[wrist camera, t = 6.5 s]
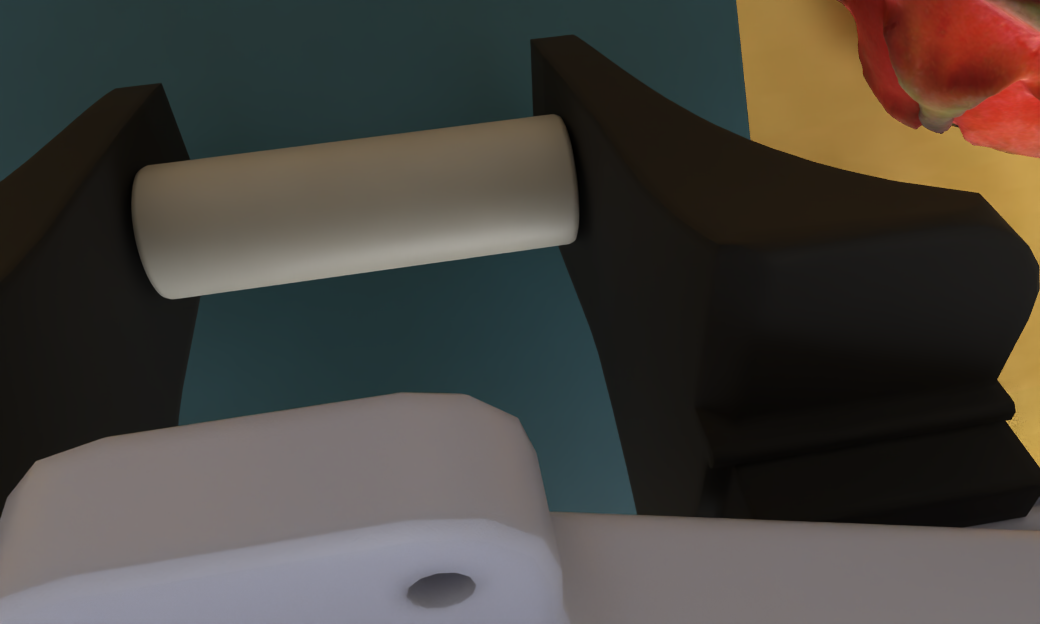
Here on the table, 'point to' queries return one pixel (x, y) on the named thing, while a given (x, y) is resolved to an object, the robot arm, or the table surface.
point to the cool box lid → (371, 193)
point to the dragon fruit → (956, 66)
